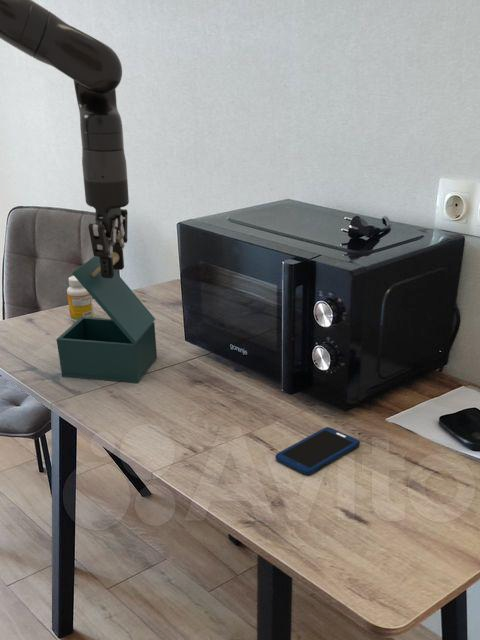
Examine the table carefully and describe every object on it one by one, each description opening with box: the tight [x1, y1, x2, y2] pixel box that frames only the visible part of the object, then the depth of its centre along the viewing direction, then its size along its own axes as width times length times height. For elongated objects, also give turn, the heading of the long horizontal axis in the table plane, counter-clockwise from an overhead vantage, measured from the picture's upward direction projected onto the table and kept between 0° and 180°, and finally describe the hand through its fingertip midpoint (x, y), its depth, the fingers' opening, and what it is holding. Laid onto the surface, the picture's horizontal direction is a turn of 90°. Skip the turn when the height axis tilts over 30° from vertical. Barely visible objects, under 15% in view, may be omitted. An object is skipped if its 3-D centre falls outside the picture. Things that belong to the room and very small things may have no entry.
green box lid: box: [71, 252, 156, 344], centre depth 134 cm, size 16×13×5 cm
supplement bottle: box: [66, 275, 95, 323], centre depth 163 cm, size 5×5×10 cm
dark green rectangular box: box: [55, 317, 158, 384], centre depth 141 cm, size 16×13×8 cm
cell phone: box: [274, 426, 361, 475], centre depth 115 cm, size 7×14×1 cm, turn 137°
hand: (113, 272), depth 132 cm, fingers closed on green box lid, 5 cm apart
